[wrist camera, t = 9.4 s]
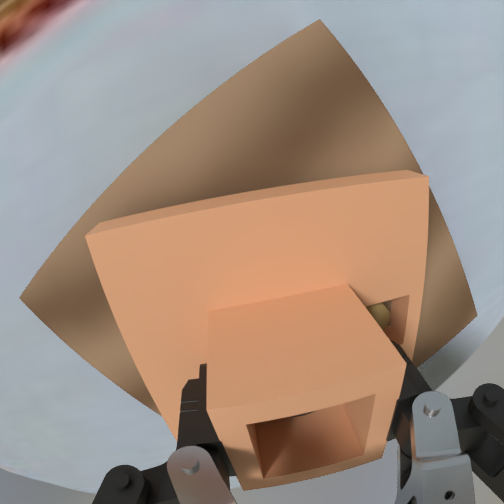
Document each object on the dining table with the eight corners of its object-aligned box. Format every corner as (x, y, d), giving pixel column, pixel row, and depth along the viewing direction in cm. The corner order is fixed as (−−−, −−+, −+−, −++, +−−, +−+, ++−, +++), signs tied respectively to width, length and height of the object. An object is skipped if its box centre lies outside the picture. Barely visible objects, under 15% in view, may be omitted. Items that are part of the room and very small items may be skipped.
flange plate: (183, 429, 15) (180, 522, 10) (99, 222, 11) (15, 305, 5) (391, 385, 16) (436, 464, 10) (407, 169, 11) (521, 210, 6)
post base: (36, 280, 14) (-28, 351, 8) (306, 32, 11) (368, -27, 5) (247, 443, 20) (256, 518, 14) (460, 300, 17) (520, 357, 11)
